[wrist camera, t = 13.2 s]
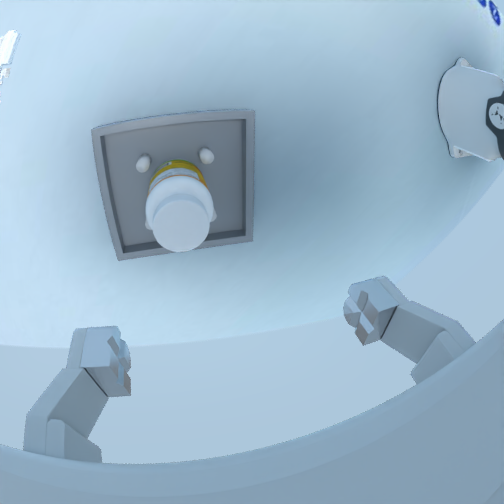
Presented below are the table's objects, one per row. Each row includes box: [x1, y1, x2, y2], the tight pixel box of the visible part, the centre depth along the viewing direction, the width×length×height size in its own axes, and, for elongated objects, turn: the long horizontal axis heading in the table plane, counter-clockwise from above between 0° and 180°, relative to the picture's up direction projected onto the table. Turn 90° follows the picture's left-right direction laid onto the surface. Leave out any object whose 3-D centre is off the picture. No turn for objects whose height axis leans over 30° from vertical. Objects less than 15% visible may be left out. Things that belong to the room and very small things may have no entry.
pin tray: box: [91, 109, 255, 261], centre depth 25 cm, size 15×14×4 cm
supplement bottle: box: [145, 159, 214, 252], centre depth 22 cm, size 5×5×10 cm
